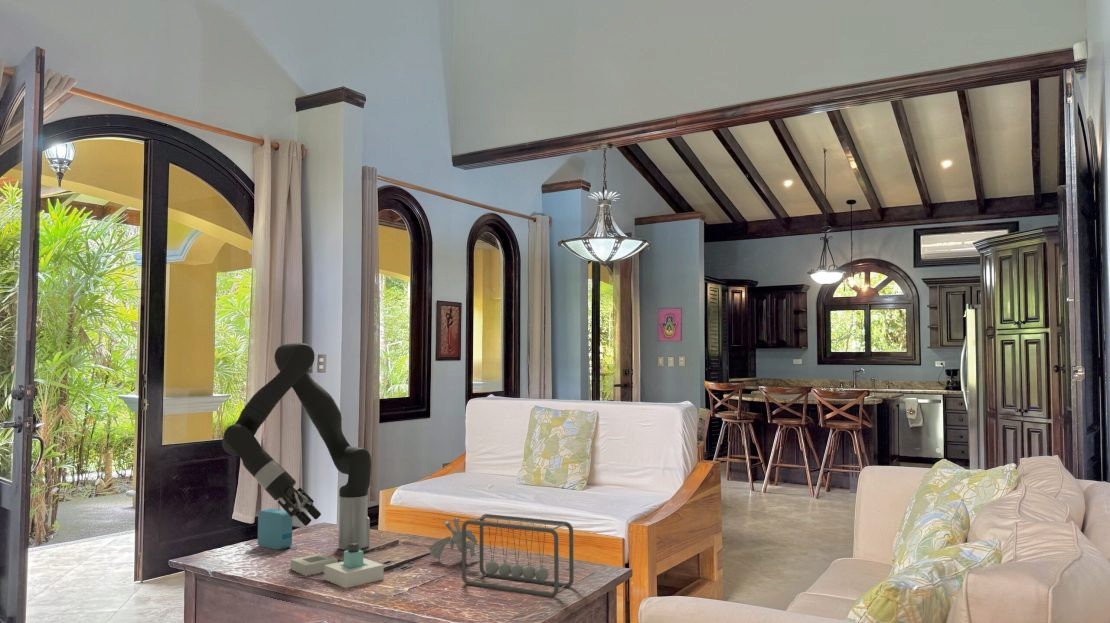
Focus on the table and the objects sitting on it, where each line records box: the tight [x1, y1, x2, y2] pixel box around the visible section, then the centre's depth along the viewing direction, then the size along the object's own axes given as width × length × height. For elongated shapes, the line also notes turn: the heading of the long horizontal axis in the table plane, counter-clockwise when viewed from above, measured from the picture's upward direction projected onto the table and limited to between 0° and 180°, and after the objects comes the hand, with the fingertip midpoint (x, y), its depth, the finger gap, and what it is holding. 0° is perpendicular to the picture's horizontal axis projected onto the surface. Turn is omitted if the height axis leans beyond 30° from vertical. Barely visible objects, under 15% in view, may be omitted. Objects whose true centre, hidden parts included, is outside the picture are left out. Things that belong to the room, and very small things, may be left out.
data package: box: [257, 508, 293, 550], centre depth 255 cm, size 12×4×12 cm, turn 60°
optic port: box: [323, 557, 385, 589], centre depth 216 cm, size 12×12×4 cm
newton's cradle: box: [461, 513, 575, 598], centre depth 209 cm, size 30×10×18 cm, turn 64°
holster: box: [290, 552, 339, 577], centre depth 227 cm, size 10×10×3 cm
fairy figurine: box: [428, 517, 479, 561], centre depth 234 cm, size 10×18×14 cm, turn 65°
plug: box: [343, 543, 364, 569], centre depth 216 cm, size 4×4×10 cm
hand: (313, 520), depth 217 cm, fingers open, 8 cm apart
